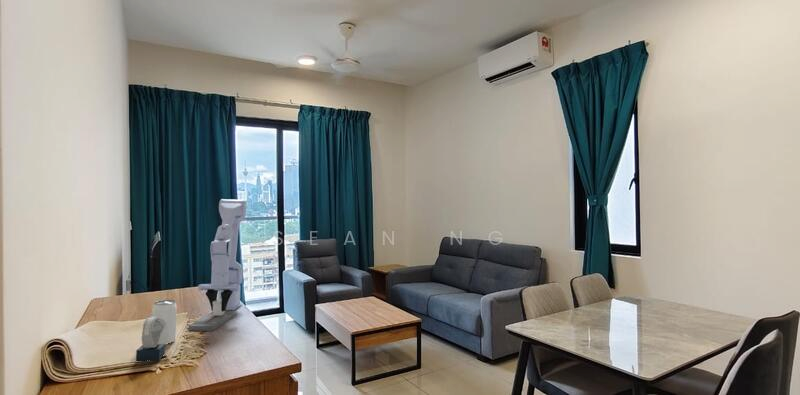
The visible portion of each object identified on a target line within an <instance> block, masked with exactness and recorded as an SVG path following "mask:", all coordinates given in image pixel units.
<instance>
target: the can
mask: <svg viewBox="0 0 800 395" xmlns="http://www.w3.org/2000/svg"><path fill="white" fill-rule="evenodd" d="M177 307H178V306H177V303H176V301H175V300H173V299H165V300H157V301H154V303H153V306H152V309H151V317H160V318H162V319H164V320H165V322H166V325H165V327H164V329H163V332H162V334H161V336H160V340H159V342H158V344H166V343H170V342H172V341H174V340H175V341H176V335H177V334H176V333H177V332H176V331H177V312H178V311H177V310H178V308H177ZM175 341H174V342H175ZM170 344H171V343H170Z"/></svg>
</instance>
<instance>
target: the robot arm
mask: <svg viewBox="0 0 800 395" xmlns="http://www.w3.org/2000/svg"><path fill="white" fill-rule="evenodd" d="M218 212H219V215H220V218H221V220H222V221H221V225H219V226H218V227H217V230H216V233H215V237H214V240H213V241H211V243H210V247H209V249H210V261H211V276H210V277H211V279H210V280H211V281H210V283H201V284H198V285H197V286H198V288H197V290H198V291H206V292H205V296H206V297H207V300H208V302H209V304H210V309H211V312H213V304H212V302H213V301H215V300H217V299H222V306H221V309H222V311H225V312H226V311H234V310H236V309H238V308H240V307H241V306H242V305H243V303H241V284H242V282H243V266H242V265H241V263H239V262H238V261H237V250H238V241H239V240H238V239H239V228H240V225H241V223H242V222H244V221H245V218H246V213H247V201H246V200H245V199H230V198H229V199H224V198H221V199H220V200H219V203H218ZM241 304H242V305H241Z"/></svg>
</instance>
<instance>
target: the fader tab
mask: <svg viewBox="0 0 800 395" xmlns="http://www.w3.org/2000/svg"><path fill="white" fill-rule="evenodd" d="M212 304H213V311H212V312H213V315H217V316H221V315H223V314H224V312H226V310H225V311H222V309H221V306H222V299H218V298H217V300H215V301H213V302H212Z"/></svg>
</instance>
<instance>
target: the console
mask: <svg viewBox="0 0 800 395" xmlns="http://www.w3.org/2000/svg"><path fill="white" fill-rule="evenodd" d="M234 317H235V312H233V311H225V312H224V314H223V315H221V316H217V315H213V311H211V312H210V313H208V314H207V315H205V316H202V317H201V318H200V319H198V320H197V321H194V322H192V323H191V324H189V325H188V331H201V332H202V331H204V332H211V331H212V332H214V331H215V330H217V329H218V328H219V327H221V326H223V325H224V324H225V323H226V322H228V321H230V320H231V319H232V318H234Z"/></svg>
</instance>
